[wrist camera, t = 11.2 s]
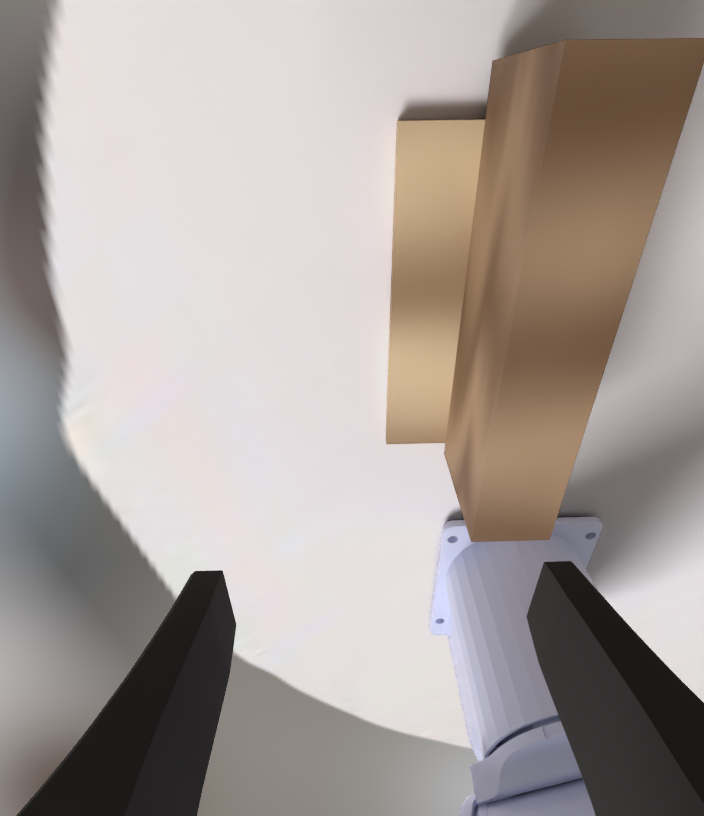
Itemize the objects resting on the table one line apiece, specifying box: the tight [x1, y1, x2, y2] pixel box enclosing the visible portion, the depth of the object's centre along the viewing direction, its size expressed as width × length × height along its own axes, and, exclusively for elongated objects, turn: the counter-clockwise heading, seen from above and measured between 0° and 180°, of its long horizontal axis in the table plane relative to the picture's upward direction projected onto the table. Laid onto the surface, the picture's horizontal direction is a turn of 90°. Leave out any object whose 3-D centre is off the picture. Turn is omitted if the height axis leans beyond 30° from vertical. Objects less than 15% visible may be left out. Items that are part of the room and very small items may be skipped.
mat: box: [386, 119, 485, 444], centre depth 17 cm, size 12×8×1 cm, turn 1°
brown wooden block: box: [444, 38, 704, 542], centre depth 15 cm, size 14×3×5 cm, turn 1°
